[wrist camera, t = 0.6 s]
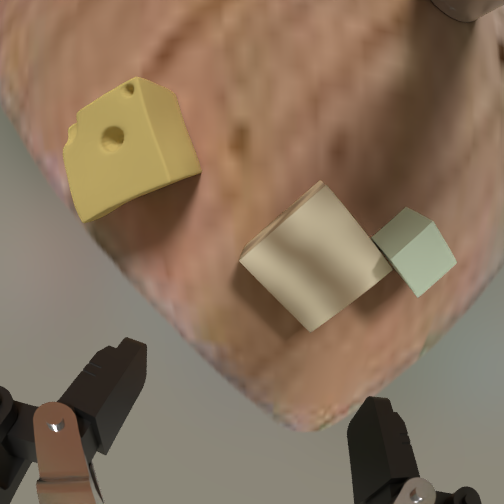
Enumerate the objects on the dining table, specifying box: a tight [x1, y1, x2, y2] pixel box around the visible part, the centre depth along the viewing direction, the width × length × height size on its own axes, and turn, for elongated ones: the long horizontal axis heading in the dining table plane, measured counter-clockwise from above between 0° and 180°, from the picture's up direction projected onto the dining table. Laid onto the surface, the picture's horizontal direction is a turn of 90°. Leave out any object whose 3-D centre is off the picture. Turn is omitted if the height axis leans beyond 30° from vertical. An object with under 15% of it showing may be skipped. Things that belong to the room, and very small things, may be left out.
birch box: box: [239, 180, 393, 333], centre depth 31 cm, size 11×11×5 cm
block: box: [371, 207, 457, 297], centre depth 28 cm, size 6×6×7 cm
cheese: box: [63, 77, 202, 223], centre depth 27 cm, size 10×11×10 cm
